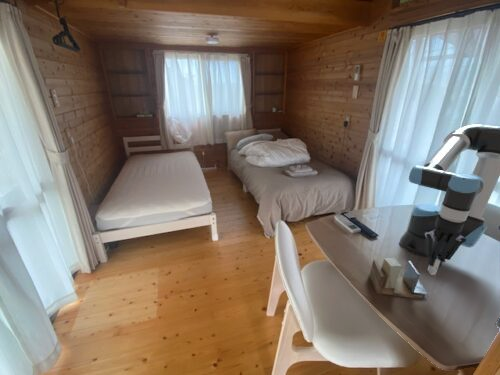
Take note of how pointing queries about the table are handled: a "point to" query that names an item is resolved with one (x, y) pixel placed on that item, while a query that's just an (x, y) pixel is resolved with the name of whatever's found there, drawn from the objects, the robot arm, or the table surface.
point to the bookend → (413, 279)
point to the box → (390, 272)
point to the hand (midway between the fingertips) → (431, 272)
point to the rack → (399, 288)
